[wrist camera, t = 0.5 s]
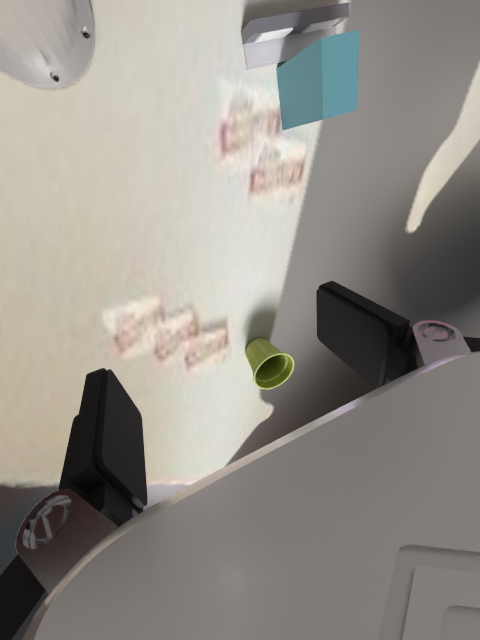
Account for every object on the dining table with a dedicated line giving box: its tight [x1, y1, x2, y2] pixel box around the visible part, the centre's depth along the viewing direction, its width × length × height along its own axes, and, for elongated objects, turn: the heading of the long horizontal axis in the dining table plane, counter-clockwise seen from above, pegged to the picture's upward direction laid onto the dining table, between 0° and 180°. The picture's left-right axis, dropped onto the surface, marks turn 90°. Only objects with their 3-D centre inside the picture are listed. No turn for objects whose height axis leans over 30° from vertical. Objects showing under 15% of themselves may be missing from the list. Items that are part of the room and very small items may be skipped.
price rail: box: [241, 3, 349, 70], centre depth 33 cm, size 4×14×3 cm, turn 104°
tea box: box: [277, 30, 359, 130], centre depth 33 cm, size 5×7×10 cm
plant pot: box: [245, 338, 294, 389], centre depth 55 cm, size 9×9×9 cm
